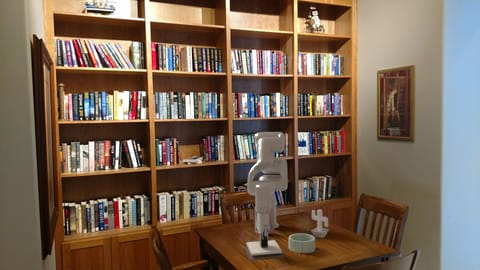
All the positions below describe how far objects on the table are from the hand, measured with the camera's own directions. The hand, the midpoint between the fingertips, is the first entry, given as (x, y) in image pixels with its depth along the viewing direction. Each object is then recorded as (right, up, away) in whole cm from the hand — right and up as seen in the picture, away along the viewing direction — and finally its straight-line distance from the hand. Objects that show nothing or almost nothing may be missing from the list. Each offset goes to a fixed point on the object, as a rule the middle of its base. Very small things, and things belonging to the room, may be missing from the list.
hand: (263, 244), depth 189 cm
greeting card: (+3, -2, +29) cm, 30 cm away
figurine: (+33, -2, +23) cm, 40 cm away
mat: (0, -4, 0) cm, 4 cm away
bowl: (+20, -3, +4) cm, 20 cm away
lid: (0, -2, 0) cm, 2 cm away
